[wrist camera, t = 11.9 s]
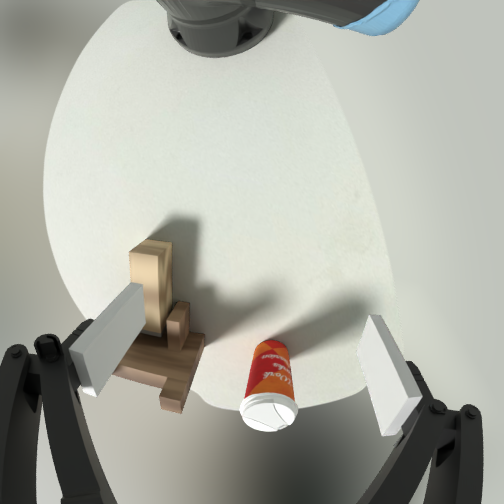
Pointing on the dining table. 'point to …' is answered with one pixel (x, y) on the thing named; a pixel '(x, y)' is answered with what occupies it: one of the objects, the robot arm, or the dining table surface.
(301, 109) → the dining table surface
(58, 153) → the dining table surface
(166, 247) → the tan wooden block
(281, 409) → the coffee cup
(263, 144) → the dining table surface
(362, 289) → the dining table surface
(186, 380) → the brown notched piece
